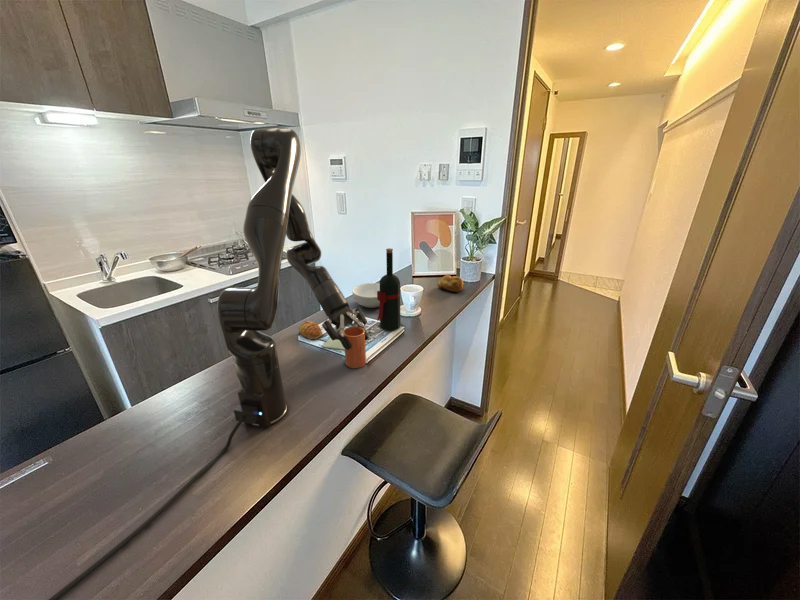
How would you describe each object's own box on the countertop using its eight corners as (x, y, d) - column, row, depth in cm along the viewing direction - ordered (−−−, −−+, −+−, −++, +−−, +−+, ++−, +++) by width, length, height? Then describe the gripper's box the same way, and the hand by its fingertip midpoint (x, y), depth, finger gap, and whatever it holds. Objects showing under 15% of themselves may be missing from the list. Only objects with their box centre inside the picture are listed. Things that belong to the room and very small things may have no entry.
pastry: (327, 335, 117) (326, 326, 115) (310, 342, 113) (309, 332, 111) (313, 326, 123) (312, 317, 122) (297, 333, 119) (295, 323, 117)
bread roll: (434, 289, 159) (434, 274, 156) (442, 283, 167) (443, 269, 163) (458, 295, 153) (459, 279, 149) (466, 288, 160) (467, 273, 157)
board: (356, 351, 107) (356, 350, 107) (322, 347, 110) (322, 346, 110) (369, 331, 120) (369, 330, 120) (338, 328, 122) (338, 327, 122)
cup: (362, 369, 98) (360, 337, 94) (342, 366, 99) (340, 335, 95) (368, 358, 104) (367, 327, 99) (350, 355, 105) (347, 325, 101)
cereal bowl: (377, 315, 132) (377, 299, 129) (345, 307, 140) (344, 292, 137) (398, 301, 146) (398, 286, 143) (368, 294, 153) (367, 280, 150)
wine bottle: (371, 328, 122) (368, 250, 110) (389, 319, 129) (388, 245, 117) (386, 335, 117) (385, 254, 105) (404, 325, 124) (405, 248, 113)
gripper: (315, 299, 92) (345, 349, 90) (353, 285, 102) (381, 330, 100) (306, 310, 98) (334, 358, 95) (343, 296, 108) (369, 339, 105)
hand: (358, 343), depth 98 cm, fingers closed on cup, 6 cm apart
